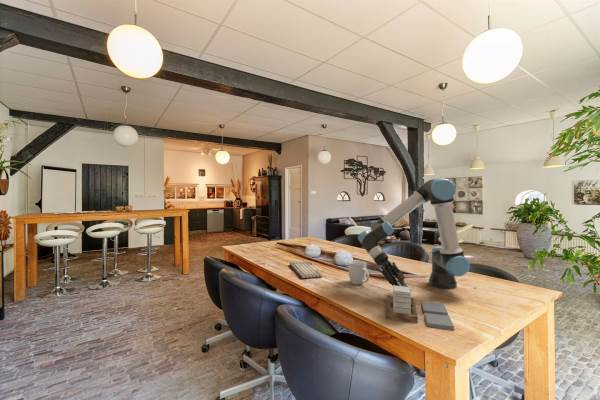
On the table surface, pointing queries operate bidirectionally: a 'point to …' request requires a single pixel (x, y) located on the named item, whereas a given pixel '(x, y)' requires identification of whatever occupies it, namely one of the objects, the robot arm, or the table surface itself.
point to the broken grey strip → (437, 315)
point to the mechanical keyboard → (305, 270)
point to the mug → (357, 272)
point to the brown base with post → (399, 315)
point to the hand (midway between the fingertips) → (407, 293)
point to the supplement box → (401, 300)
